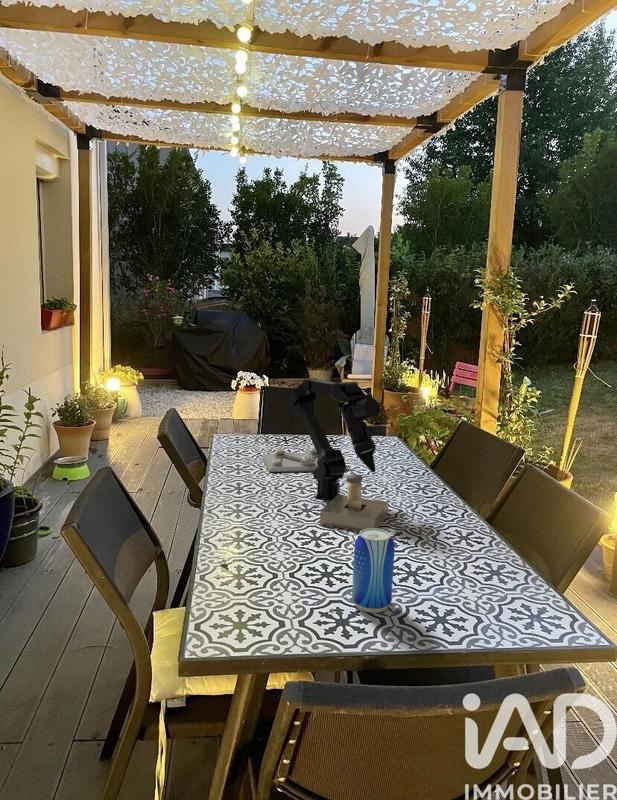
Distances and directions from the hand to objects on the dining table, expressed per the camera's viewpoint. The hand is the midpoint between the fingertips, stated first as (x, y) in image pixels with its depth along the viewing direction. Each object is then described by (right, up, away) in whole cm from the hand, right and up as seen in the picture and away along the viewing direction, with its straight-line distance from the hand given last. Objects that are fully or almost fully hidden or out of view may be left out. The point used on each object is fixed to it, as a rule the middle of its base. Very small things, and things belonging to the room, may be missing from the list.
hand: (373, 469), depth 192 cm
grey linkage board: (-22, -4, +50) cm, 55 cm away
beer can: (-6, -23, -58) cm, 62 cm away
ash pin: (-6, -14, -7) cm, 17 cm away
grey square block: (-6, -14, -7) cm, 17 cm away
